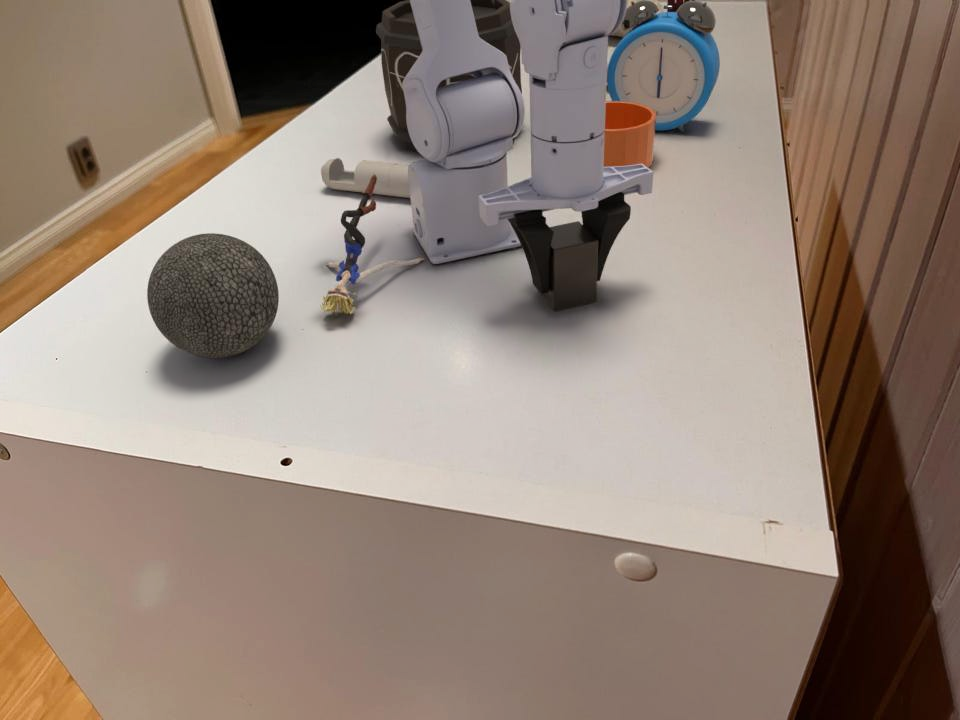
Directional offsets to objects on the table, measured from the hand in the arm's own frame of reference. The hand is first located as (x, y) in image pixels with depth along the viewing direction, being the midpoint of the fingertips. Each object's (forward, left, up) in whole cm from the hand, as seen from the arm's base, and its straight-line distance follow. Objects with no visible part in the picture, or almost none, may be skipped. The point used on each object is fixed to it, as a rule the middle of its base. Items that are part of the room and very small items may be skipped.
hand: (566, 282), depth 68 cm
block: (0, 0, -1) cm, 1 cm away
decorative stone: (+46, +79, -2) cm, 91 cm away
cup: (+17, +26, -1) cm, 31 cm away
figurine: (-17, +10, -2) cm, 20 cm away
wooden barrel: (+3, +43, -2) cm, 43 cm away
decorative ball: (-29, +4, -2) cm, 29 cm away
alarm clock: (+28, +34, -2) cm, 44 cm away
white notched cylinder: (-9, +28, -2) cm, 29 cm away
